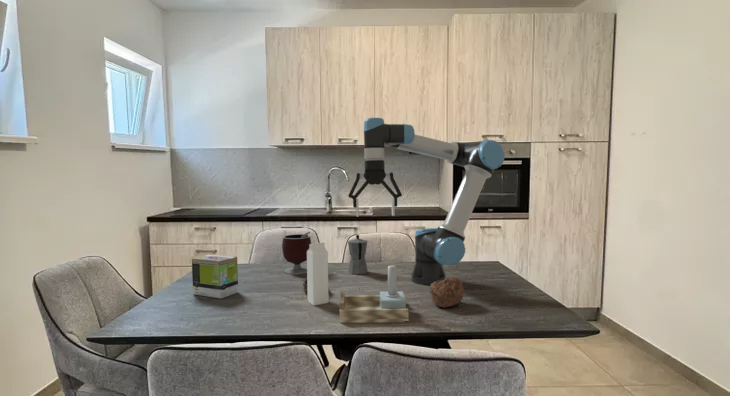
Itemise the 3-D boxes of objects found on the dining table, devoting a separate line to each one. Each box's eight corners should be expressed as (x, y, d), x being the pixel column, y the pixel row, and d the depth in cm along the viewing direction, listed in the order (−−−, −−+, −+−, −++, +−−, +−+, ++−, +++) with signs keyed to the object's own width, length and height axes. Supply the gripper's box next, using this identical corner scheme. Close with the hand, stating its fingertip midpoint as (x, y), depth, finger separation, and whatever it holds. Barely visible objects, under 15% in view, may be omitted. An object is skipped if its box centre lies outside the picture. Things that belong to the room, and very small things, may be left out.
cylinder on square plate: (403, 304, 137) (403, 262, 136) (406, 315, 127) (406, 270, 126) (379, 305, 137) (378, 263, 136) (380, 315, 127) (380, 270, 126)
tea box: (239, 292, 158) (238, 256, 157) (220, 299, 148) (219, 261, 147) (211, 287, 164) (210, 253, 163) (191, 294, 155) (190, 257, 154)
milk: (328, 303, 144) (328, 243, 142) (313, 305, 141) (312, 245, 139) (322, 298, 149) (321, 241, 148) (307, 300, 146) (306, 242, 145)
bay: (402, 302, 144) (402, 286, 143) (409, 321, 125) (409, 303, 125) (342, 303, 143) (341, 287, 143) (339, 322, 125) (339, 304, 124)
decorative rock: (458, 298, 147) (458, 272, 147) (471, 309, 136) (471, 280, 136) (424, 301, 145) (424, 274, 145) (435, 311, 134) (435, 283, 133)
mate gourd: (276, 272, 188) (275, 231, 187) (297, 266, 200) (296, 227, 198) (300, 277, 179) (299, 233, 178) (320, 270, 191) (319, 229, 189)
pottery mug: (330, 297, 152) (319, 280, 150) (309, 306, 154) (298, 290, 151) (332, 281, 163) (323, 265, 161) (313, 290, 165) (303, 274, 163)
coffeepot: (346, 269, 193) (346, 233, 192) (365, 268, 194) (365, 232, 193) (350, 277, 178) (350, 238, 177) (370, 276, 179) (370, 237, 178)
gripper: (405, 159, 152) (406, 213, 153) (341, 160, 150) (342, 215, 152) (408, 158, 144) (409, 216, 146) (341, 160, 143) (342, 217, 144)
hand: (375, 215), depth 149 cm, fingers open, 13 cm apart
